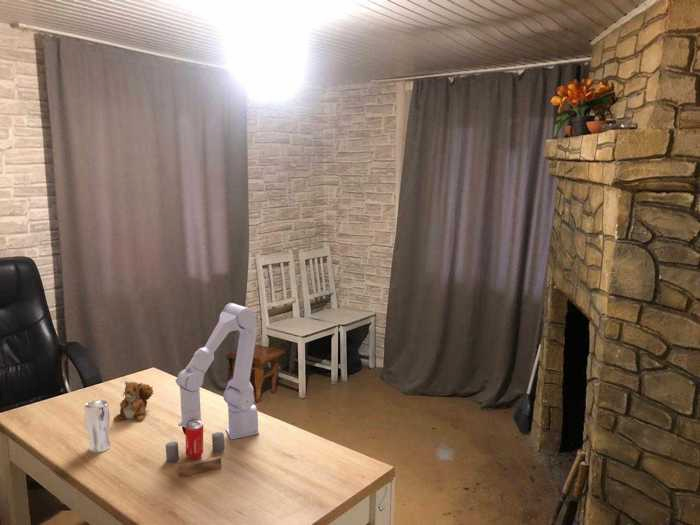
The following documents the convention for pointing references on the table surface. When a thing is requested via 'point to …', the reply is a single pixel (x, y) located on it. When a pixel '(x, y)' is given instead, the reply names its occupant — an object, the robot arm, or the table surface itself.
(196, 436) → the beverage can
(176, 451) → the bollard
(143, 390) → the stuffed squirrel
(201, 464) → the walnut rail
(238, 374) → the robot arm
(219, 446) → the bollard
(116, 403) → the table surface
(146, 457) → the table surface
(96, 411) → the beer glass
